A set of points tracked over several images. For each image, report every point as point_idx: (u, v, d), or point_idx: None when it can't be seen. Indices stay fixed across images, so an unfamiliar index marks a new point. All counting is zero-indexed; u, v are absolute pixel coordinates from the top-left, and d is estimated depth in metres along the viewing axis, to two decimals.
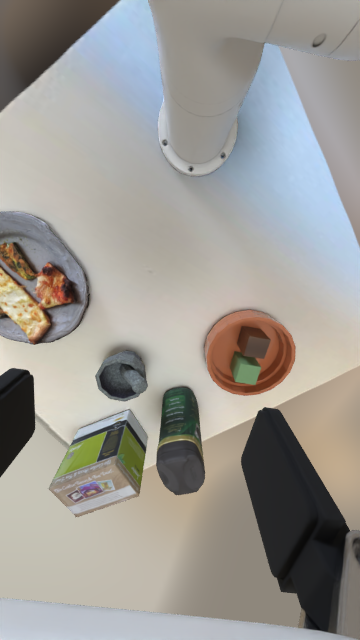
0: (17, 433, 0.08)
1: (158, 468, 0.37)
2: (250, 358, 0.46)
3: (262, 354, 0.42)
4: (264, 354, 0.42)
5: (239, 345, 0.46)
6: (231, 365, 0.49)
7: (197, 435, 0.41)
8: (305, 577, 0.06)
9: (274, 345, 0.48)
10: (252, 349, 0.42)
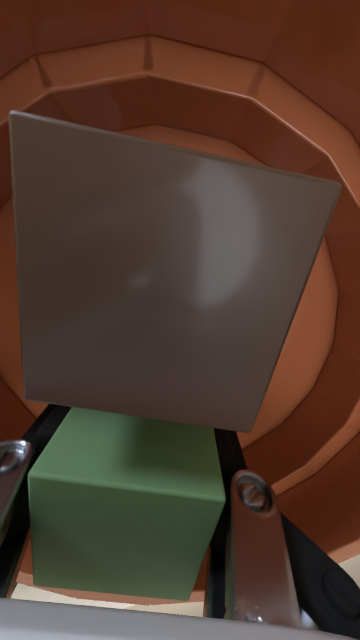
0: None
1: None
2: None
3: (230, 388, 0.04)
4: (252, 388, 0.04)
5: None
6: None
7: None
8: None
9: (311, 322, 0.09)
10: (105, 330, 0.03)
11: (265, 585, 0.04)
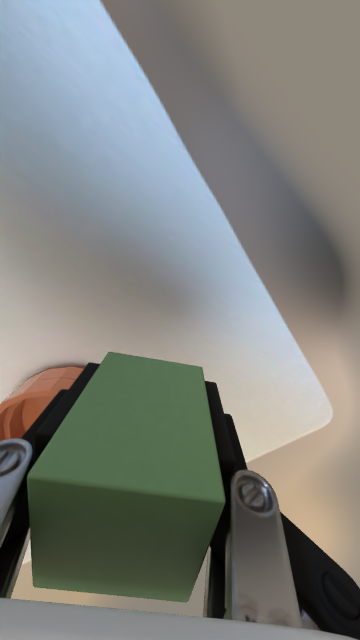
0: None
1: None
2: (172, 396, 0.08)
3: None
4: None
5: None
6: None
7: None
8: None
9: None
10: None
11: (265, 585, 0.04)
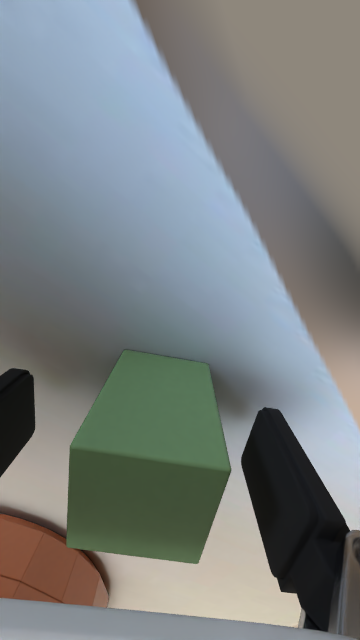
0: (17, 433, 0.08)
1: None
2: (183, 388, 0.09)
3: None
4: None
5: None
6: None
7: None
8: (305, 577, 0.06)
9: None
10: None
11: None
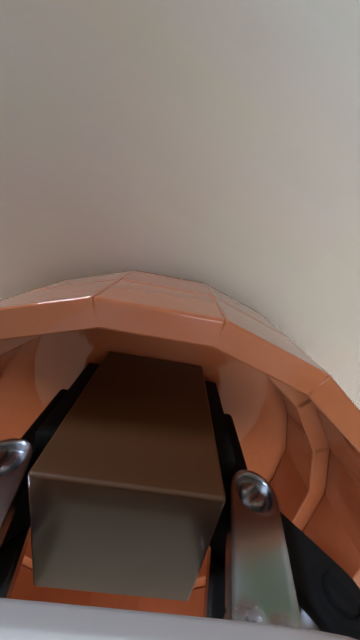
0: None
1: None
2: None
3: (170, 581, 0.06)
4: (185, 582, 0.06)
5: None
6: None
7: None
8: None
9: (266, 432, 0.11)
10: (86, 556, 0.05)
11: (265, 585, 0.04)
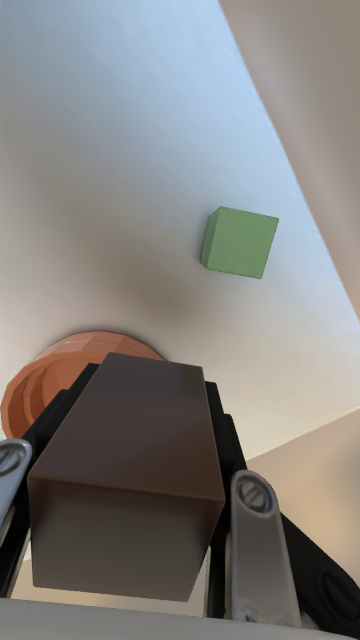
0: None
1: None
2: None
3: (170, 582, 0.06)
4: (184, 582, 0.06)
5: None
6: (202, 252, 0.20)
7: None
8: None
9: None
10: (86, 557, 0.05)
11: (265, 585, 0.04)
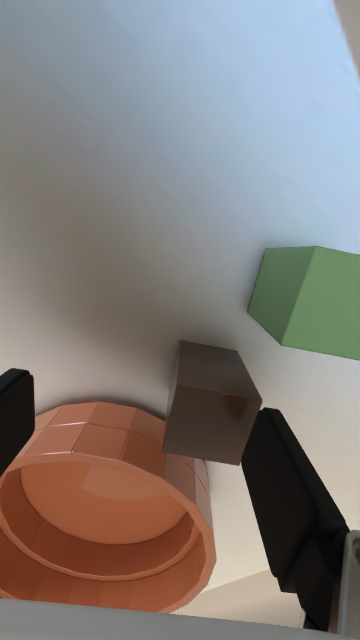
0: (17, 433, 0.08)
1: None
2: None
3: (231, 450, 0.11)
4: (239, 451, 0.11)
5: (168, 401, 0.15)
6: (254, 301, 0.14)
7: None
8: (305, 577, 0.06)
9: None
10: (193, 433, 0.11)
11: None
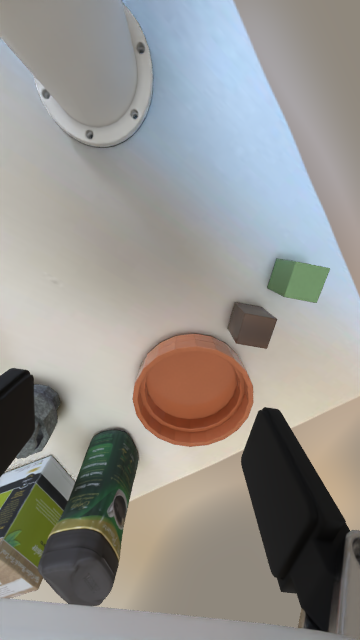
0: (17, 433, 0.08)
1: (40, 574, 0.25)
2: None
3: (264, 341, 0.29)
4: (267, 341, 0.29)
5: (231, 330, 0.32)
6: (271, 282, 0.31)
7: (112, 512, 0.29)
8: (305, 577, 0.06)
9: (230, 378, 0.36)
10: (249, 334, 0.28)
11: None
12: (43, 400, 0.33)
